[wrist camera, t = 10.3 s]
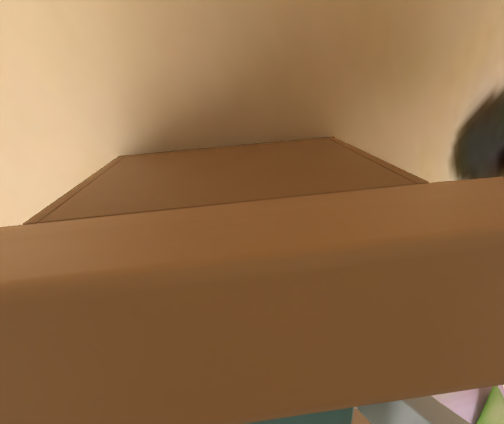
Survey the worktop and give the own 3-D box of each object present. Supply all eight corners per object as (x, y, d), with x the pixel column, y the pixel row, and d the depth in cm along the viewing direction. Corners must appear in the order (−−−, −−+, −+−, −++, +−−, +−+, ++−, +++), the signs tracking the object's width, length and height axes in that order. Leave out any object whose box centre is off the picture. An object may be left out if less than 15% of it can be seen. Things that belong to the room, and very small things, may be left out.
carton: (118, 156, 18) (4, 235, 8) (333, 136, 19) (446, 189, 9) (170, 344, 25) (139, 500, 16) (323, 324, 26) (381, 461, 16)
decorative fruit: (364, 311, 26) (441, 436, 17) (450, 298, 26) (572, 414, 17) (357, 378, 30) (417, 508, 20) (432, 366, 30) (523, 488, 21)
